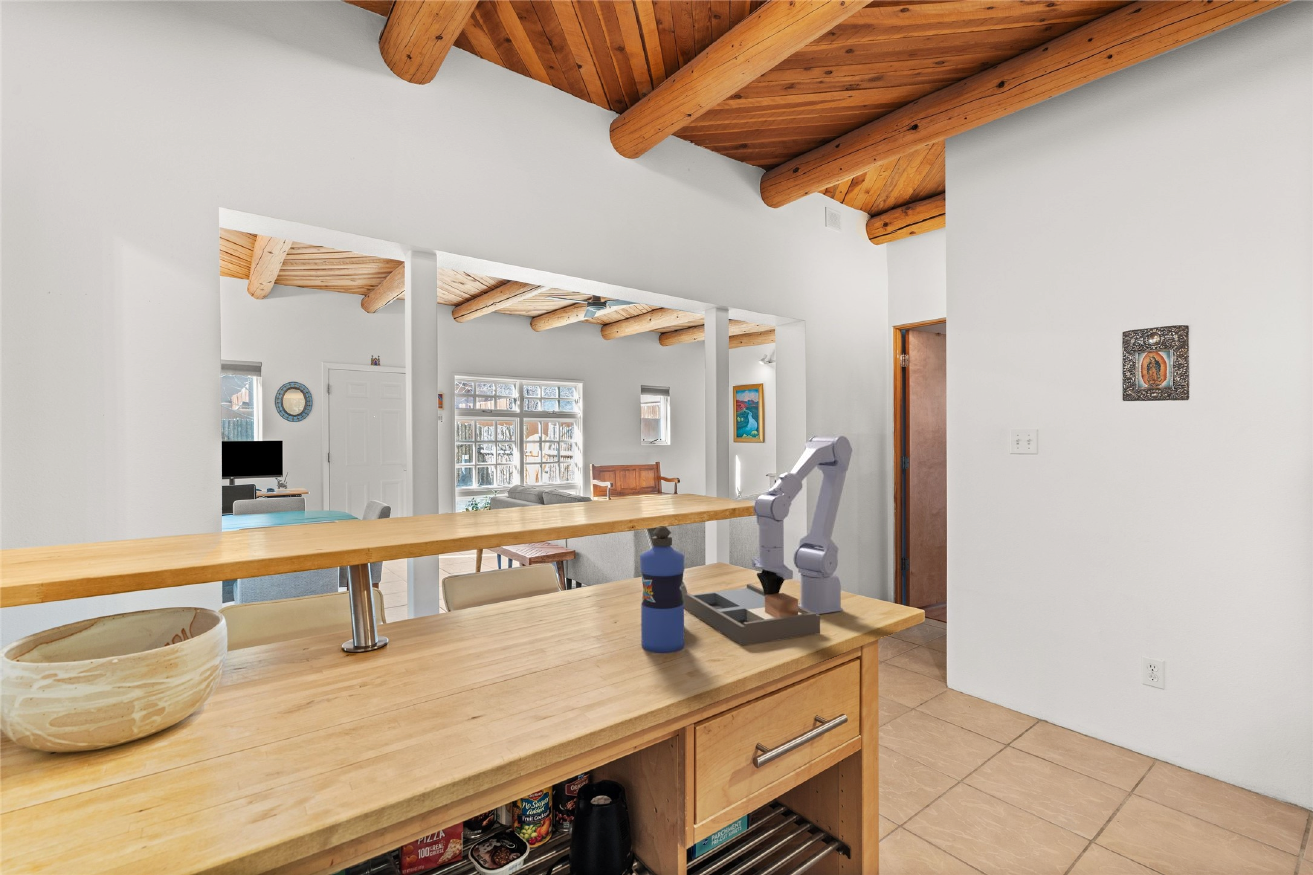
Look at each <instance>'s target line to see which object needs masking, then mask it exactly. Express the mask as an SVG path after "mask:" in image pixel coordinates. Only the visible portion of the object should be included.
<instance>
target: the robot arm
mask: <svg viewBox="0 0 1313 875" xmlns="http://www.w3.org/2000/svg"><path fill="white" fill-rule="evenodd" d="M852 453H853V448H852V446H851V442H850V441H849V438H847V437H846V436H844V435H839V436H829V435H827V436H818V435H813V436H811V437H810V438H809V439H808V440H807V442H806V443H805V444H804V452H803V454H801V456H800V457H799V459H798V461H797V462H796V463H795V465H794V466H793V468H792V470H791V471H790V472H784V473H781V474H780V475H779V476H778V479H777V481H775V483H774V484H773V485H772V486H771V487H770V488H769V490H768V492H767V493H766V494H765V493H763V494H761V495H760V496H759V497H757V498H756V499H755V502H754V505H753V506H752V508H753V514H754V515H755V517H756V523H757V525H758V558H757V557H755V558H752V559H751V567H753V568H755V569H757V570H761V571H760V572H757V573H756V577H757V579H758V580H759V582H760V585H761V586H762V588H761V589H763V591H764V595H769V594H777V593H781V592H780V591H781V588H782V585H783V584H784V582H785V581H786V580H793V579H794V576H793V575H794V572H793V570H792V569H790V568H789V567H788V566H786V564H785V563H784V560H785V559H784V558H785V557H784V555H785V554H784V548H785V547H784V546H785V545H784V544H785V543H784V540H785V539H784V525H785V522H784V520H785V519H786V518H787V517H788V516H789V513H790V508H791V505H792V502H793V501H794V500H795V498H796V497H797V495H799V493H800V492H801V491H802V488H803V481H804V480H805V479H806V477H807V476H808V475H809V474H811V473H812V471H813V470H814V469H815V468H817V469H818V470H819V471H821V473H822V475H823V477H822V480H821V485H820V489H819V494H818V496H817V501H816V505H815V510H814V513H813V518H812V522H811V525H810V526H811V527H810V530H809V533H807V534H806V535H805V536H803V537H802V538H800V540H799V544H798V545H797V547H796V549H795V550H794V553H793V564H794V566H795V568H796V569H797V571H798V573H799V574H800V603H798V606H800V607H803V608H805V609H807V610H809V611H811V612H814V613H816V614H818V615H822V614H829V613H836V612H842V611H844V609H843V607H842V605H841V604H842V602H841V601H842V599H841V598H842V596H841V595H842V594H841V593H842V590H841V588H842V586H841V581H840V578H839V576H838V575H837V574H836V573H835V572H836V570H837V568H838V565H839V564H838V562H839V558H838V553H839V547H838V546H837V544H836V543H835V542H834V541H833V539H832V535H833V532H834V527H835V522H836V518H837V514H838V510H839V505H840V501H841V497H842V494H843V491H844V484H845V481H846V478H847V477H846V476H847V472H848V470H849V468H850V467H849V465H850V462H851V458H852Z"/></svg>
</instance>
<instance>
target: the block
mask: <svg viewBox="0 0 1313 875" xmlns="http://www.w3.org/2000/svg"><path fill="white" fill-rule="evenodd" d="M798 604H799V598H797V597H794V596H791V595H789V594H787V593H785V592H779V593H777V594H769V595H765V613H767V614H769V615H771V616H773V617H775V618H778V617H785V616H792V615H798Z"/></svg>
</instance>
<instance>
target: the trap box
mask: <svg viewBox="0 0 1313 875" xmlns="http://www.w3.org/2000/svg"><path fill="white" fill-rule="evenodd" d="M684 610H686V611H687V612H688V613H691V614H692V615H694V616H695V617H696V618H698V619H700V620H701V621H702V622H704V623H705V624H707V625H708V626H710V627H712V628H714V629H715V630H717V631H718V632H719V633H721V634H723V635H724V636H726V637H727V638H729V639H730V640H732V641H733V642H735V643H736V644H738V645H740V646H741V647H745V646H750V645H755V644H763V643H768V642H774V641H780V640H787V639H792V638H793V639H794V638H801V637H806V636H812V635H818V634H819V635H820V634H821V614H816V613H814V612H811V611H809V610H807V609H805V608H803V607H800V606H798V615H792V616H785V617H778V618H775V617H773V616H771V615H769V614H767V613H765V595H764V591H763V588H760V587H758V586H756V585H753V584H751V583H746V587H744V588H736V589H735V588H734V589H726V590H720V591H719V590H718V591H717V590H716V591H711V592H710V591H708V592H702V593H695V594H694V593H693V594H691V593H689V592H688V591H687V594H686V595H685V596H684Z"/></svg>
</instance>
